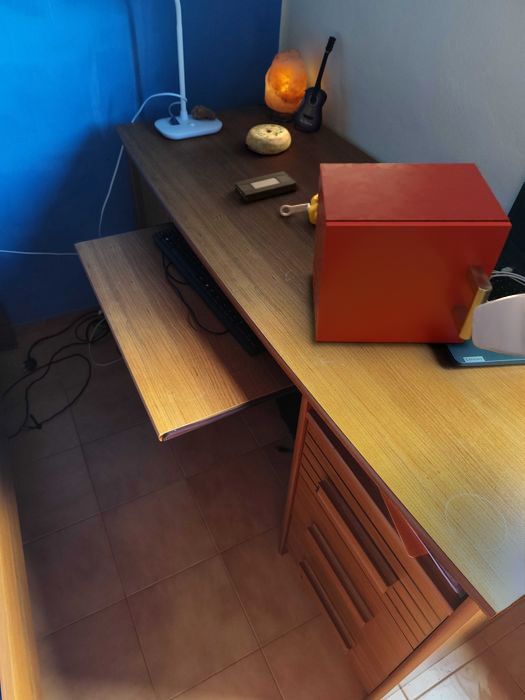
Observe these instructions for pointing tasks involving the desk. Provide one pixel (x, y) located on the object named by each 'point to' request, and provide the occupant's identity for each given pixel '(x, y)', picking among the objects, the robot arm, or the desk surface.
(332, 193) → the cabinet
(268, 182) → the vhs tape
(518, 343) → the robot arm
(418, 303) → the door
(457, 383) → the desk surface
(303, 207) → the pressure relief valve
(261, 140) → the bagel
